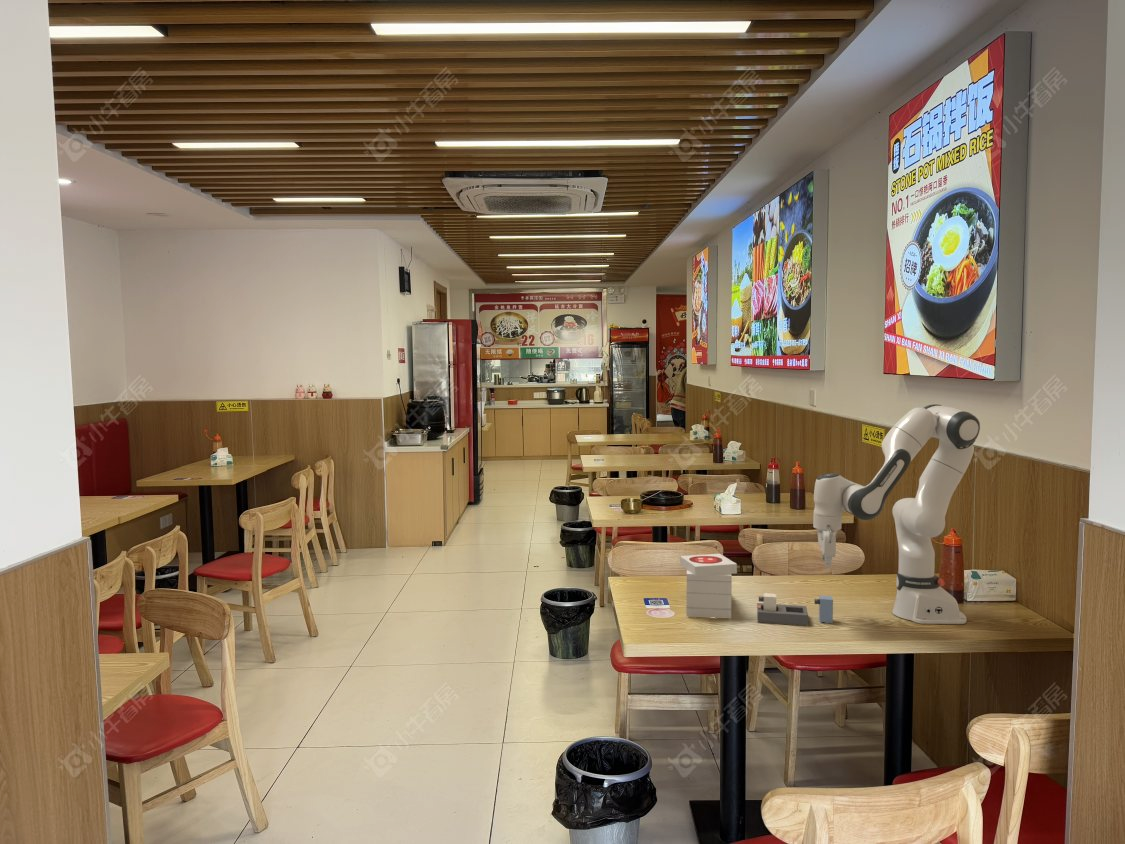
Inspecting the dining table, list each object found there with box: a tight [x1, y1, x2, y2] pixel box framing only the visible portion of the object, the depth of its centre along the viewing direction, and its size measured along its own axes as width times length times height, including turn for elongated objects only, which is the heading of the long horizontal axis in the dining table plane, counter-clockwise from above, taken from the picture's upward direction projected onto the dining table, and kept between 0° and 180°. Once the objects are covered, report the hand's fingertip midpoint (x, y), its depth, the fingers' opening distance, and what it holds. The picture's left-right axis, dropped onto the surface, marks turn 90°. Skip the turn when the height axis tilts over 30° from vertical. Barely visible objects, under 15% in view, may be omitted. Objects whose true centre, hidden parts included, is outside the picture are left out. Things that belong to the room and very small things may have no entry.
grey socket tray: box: [756, 602, 809, 626], centre depth 257 cm, size 16×10×4 cm, turn 76°
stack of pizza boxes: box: [679, 553, 738, 619], centre depth 271 cm, size 19×30×18 cm, turn 170°
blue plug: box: [813, 595, 834, 624], centre depth 255 cm, size 6×4×8 cm
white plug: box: [758, 592, 777, 611], centre depth 258 cm, size 6×4×8 cm
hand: (826, 564), depth 253 cm, fingers open, 8 cm apart
